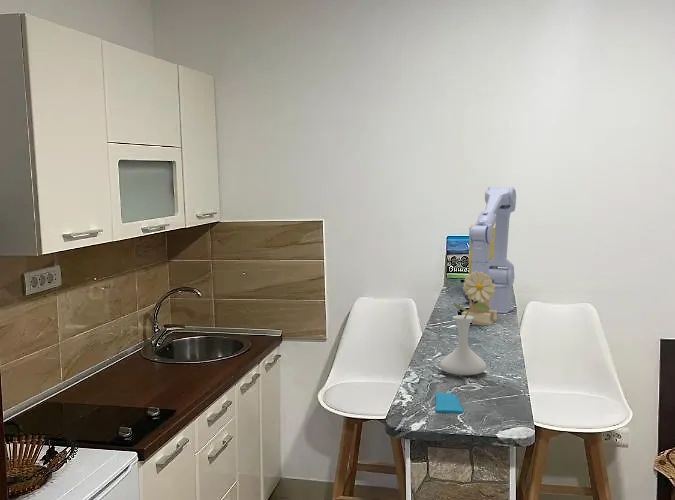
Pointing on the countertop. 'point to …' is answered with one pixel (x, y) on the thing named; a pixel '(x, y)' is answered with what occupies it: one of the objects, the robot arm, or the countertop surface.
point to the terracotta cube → (475, 309)
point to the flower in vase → (463, 356)
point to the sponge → (447, 403)
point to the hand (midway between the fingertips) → (479, 302)
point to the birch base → (483, 317)
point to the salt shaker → (467, 299)
